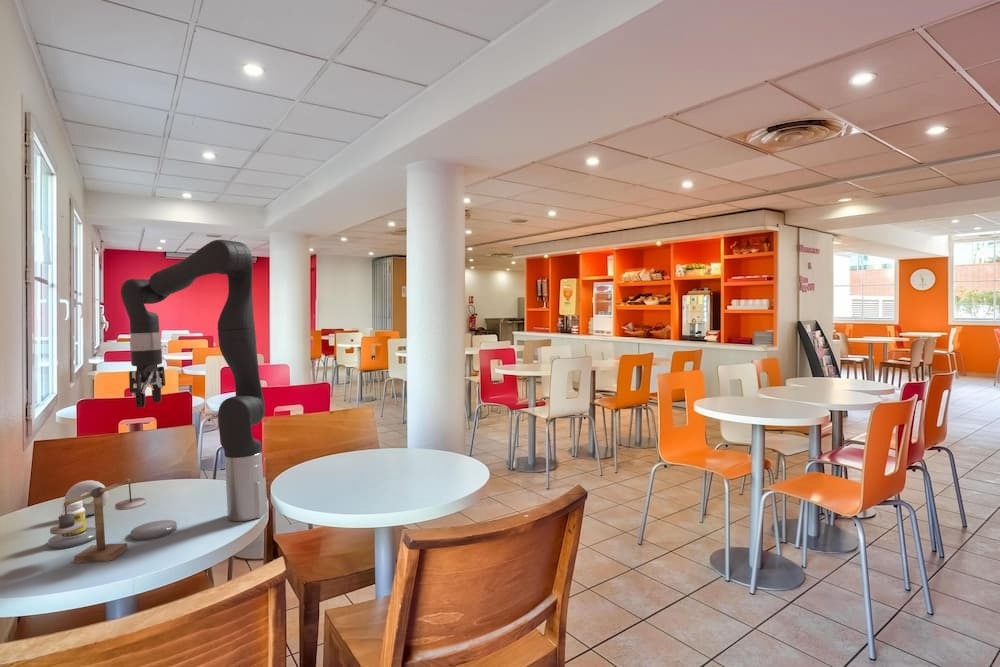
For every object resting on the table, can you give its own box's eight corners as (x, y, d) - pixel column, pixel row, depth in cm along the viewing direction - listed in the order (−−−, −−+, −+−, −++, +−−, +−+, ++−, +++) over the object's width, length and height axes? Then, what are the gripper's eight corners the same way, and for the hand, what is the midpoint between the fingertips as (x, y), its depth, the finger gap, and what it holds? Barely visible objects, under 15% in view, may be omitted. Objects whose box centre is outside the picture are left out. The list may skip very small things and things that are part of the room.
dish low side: (108, 530, 142) (107, 526, 142) (82, 547, 132) (81, 542, 132) (67, 533, 141) (66, 528, 141) (38, 550, 131) (37, 545, 131)
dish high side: (184, 523, 146) (183, 518, 145) (164, 538, 136) (164, 534, 136) (144, 525, 145) (144, 521, 145) (122, 541, 135) (121, 536, 135)
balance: (154, 547, 131) (149, 474, 130) (140, 558, 125) (135, 482, 124) (64, 553, 129) (59, 479, 128) (45, 565, 123) (40, 487, 122)
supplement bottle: (60, 540, 133) (57, 507, 133) (64, 534, 137) (62, 501, 137) (84, 536, 136) (82, 503, 135) (88, 530, 140) (86, 497, 139)
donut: (64, 521, 150) (62, 485, 149) (66, 517, 153) (64, 482, 152) (108, 513, 155) (106, 478, 154) (110, 510, 158) (108, 475, 157)
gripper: (146, 349, 150) (149, 408, 151) (172, 346, 165) (175, 400, 165) (117, 350, 150) (120, 409, 150) (146, 347, 164) (149, 401, 165)
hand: (149, 404), depth 158 cm, fingers open, 8 cm apart
